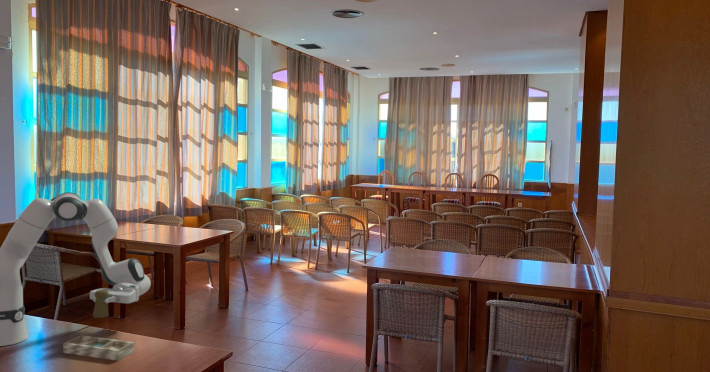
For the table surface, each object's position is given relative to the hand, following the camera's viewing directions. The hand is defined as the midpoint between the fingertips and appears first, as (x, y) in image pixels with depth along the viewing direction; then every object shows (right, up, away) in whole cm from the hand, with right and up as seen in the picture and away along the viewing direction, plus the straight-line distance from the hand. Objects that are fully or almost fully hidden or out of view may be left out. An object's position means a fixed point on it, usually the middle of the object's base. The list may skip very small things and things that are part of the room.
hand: (99, 300), depth 216 cm
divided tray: (+5, -18, -11) cm, 22 cm away
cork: (0, -7, +1) cm, 7 cm away
